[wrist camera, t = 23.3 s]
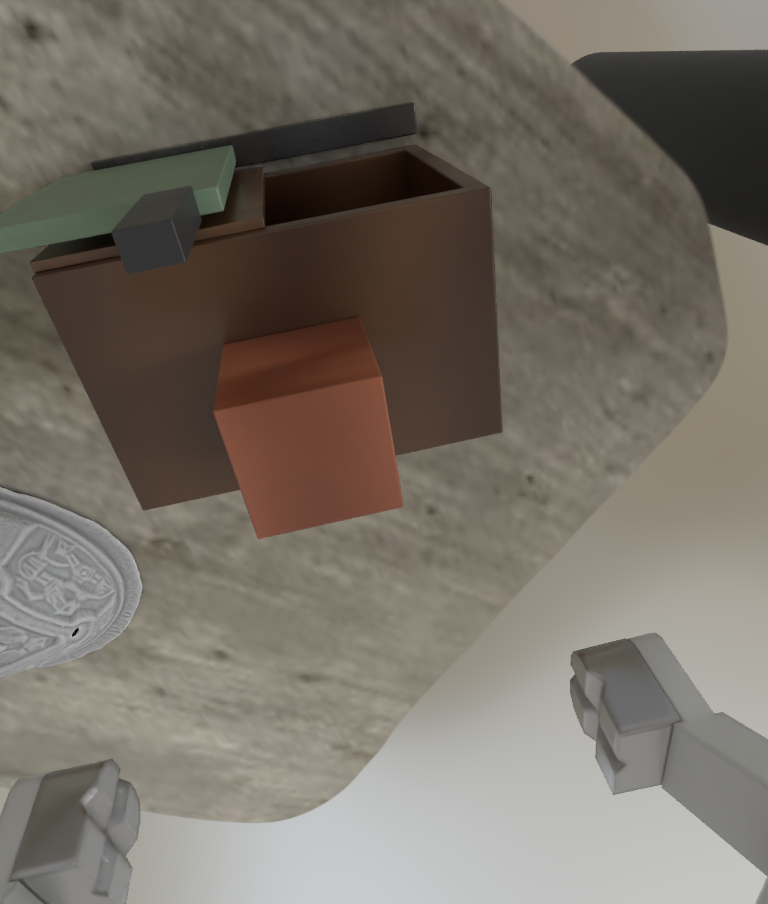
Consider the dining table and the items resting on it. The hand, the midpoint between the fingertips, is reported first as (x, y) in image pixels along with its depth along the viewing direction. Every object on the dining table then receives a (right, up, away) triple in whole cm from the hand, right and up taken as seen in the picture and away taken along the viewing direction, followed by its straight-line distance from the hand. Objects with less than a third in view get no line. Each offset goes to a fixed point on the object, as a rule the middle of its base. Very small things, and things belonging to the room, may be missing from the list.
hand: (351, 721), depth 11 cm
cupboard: (-4, +14, +19) cm, 24 cm away
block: (-2, +7, +11) cm, 13 cm away
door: (-9, +17, +16) cm, 25 cm away
